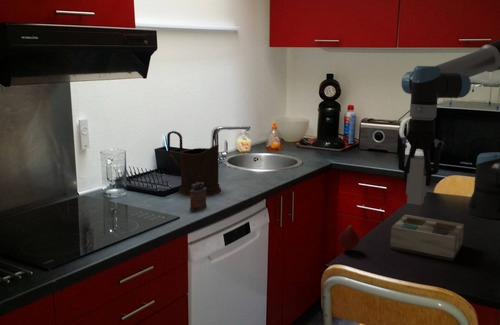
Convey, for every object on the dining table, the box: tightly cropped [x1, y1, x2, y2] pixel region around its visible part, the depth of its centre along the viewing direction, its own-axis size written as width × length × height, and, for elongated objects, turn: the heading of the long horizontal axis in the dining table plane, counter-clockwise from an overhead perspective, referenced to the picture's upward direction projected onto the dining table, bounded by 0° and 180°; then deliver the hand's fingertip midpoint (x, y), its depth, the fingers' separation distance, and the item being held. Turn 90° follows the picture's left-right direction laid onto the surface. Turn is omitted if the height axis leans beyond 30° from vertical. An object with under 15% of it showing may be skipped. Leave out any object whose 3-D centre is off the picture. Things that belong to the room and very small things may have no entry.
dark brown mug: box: [166, 130, 223, 197], centre depth 224 cm, size 18×24×25 cm
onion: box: [338, 225, 360, 252], centre depth 157 cm, size 6×6×8 cm
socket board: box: [389, 214, 465, 262], centre depth 161 cm, size 15×18×7 cm
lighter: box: [189, 182, 208, 212], centre depth 198 cm, size 8×3×10 cm, turn 145°
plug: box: [406, 155, 426, 206], centre depth 161 cm, size 4×4×14 cm
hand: (416, 194), depth 162 cm, fingers closed on plug, 4 cm apart
